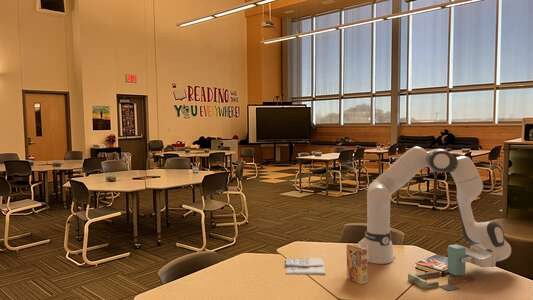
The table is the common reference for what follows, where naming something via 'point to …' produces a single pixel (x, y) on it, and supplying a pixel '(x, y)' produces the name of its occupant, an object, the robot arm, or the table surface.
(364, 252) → the candy box
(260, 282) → the table surface
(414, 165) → the robot arm
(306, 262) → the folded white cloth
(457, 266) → the teal block
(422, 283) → the channel
